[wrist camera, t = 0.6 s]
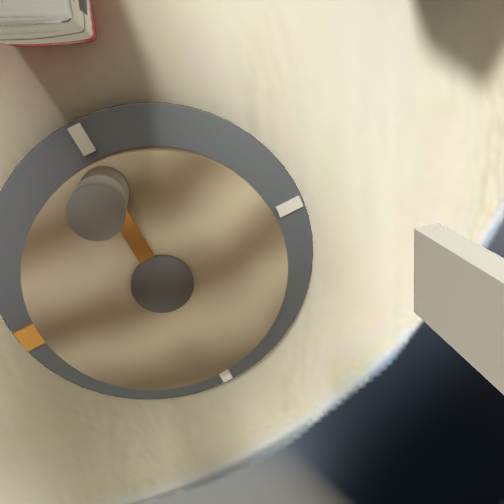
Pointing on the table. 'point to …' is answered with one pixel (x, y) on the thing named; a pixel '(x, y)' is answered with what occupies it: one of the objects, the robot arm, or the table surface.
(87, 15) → the ink box
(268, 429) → the table surface
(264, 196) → the dial plate
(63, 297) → the dial
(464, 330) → the robot arm
